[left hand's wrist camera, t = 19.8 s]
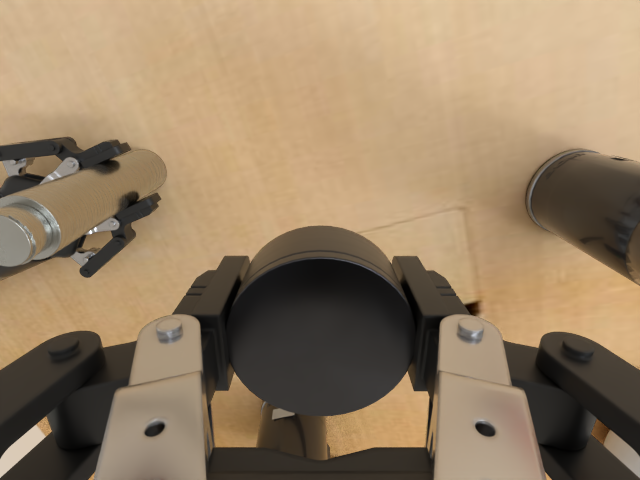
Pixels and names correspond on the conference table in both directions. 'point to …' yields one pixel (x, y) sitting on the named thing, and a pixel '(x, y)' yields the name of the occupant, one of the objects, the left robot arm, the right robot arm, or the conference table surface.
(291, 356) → the lid
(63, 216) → the metal cylinder
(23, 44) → the conference table surface
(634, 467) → the projector
